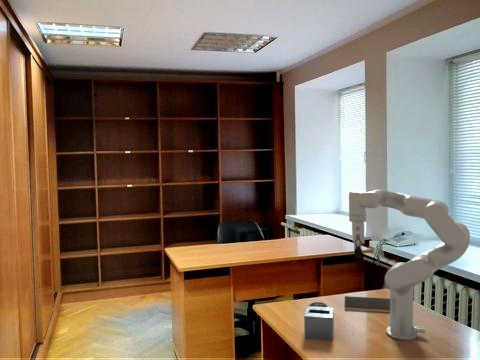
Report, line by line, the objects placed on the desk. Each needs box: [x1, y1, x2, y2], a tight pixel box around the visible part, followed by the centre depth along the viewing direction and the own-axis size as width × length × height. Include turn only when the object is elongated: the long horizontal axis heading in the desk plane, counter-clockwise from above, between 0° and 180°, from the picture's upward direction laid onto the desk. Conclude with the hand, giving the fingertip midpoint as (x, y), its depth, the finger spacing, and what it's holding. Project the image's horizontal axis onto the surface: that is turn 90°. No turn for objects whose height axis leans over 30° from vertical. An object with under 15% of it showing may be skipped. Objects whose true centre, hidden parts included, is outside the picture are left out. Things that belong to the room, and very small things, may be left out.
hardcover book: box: [344, 295, 390, 313], centre depth 222 cm, size 16×23×2 cm
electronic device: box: [308, 301, 328, 307], centre depth 216 cm, size 9×6×15 cm
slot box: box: [303, 305, 335, 342], centre depth 190 cm, size 12×12×10 cm
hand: (358, 254), depth 195 cm, fingers open, 9 cm apart
